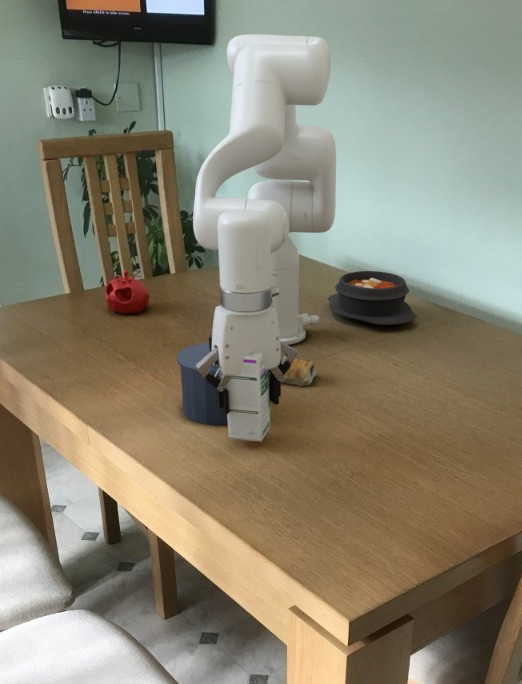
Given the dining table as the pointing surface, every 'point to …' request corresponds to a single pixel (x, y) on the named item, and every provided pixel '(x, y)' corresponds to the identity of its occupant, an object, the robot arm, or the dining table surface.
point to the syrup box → (249, 400)
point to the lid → (195, 356)
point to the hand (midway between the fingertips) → (248, 405)
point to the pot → (200, 399)
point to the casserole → (372, 298)
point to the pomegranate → (126, 295)
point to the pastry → (300, 373)
